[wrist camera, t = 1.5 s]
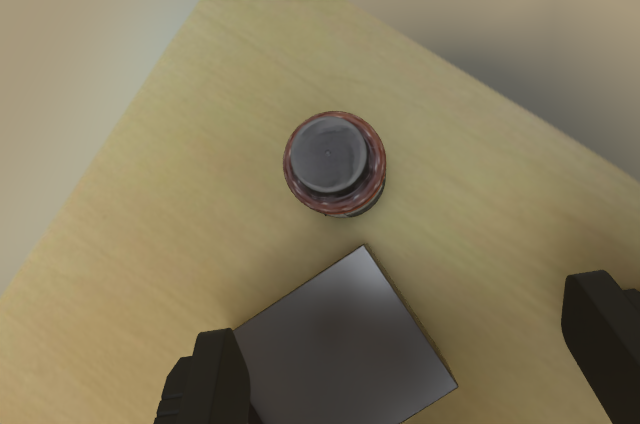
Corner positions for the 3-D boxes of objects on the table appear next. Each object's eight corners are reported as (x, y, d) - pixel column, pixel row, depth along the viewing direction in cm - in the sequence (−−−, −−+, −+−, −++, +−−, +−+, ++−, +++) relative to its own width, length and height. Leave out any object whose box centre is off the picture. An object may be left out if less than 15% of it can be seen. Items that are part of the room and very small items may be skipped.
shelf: (367, 243, 36) (362, 244, 28) (446, 361, 34) (464, 397, 27) (233, 331, 37) (192, 356, 29) (306, 450, 35) (284, 509, 28)
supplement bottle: (292, 160, 37) (251, 126, 25) (363, 125, 36) (354, 73, 25) (326, 232, 36) (299, 229, 25) (399, 197, 35) (406, 178, 24)
